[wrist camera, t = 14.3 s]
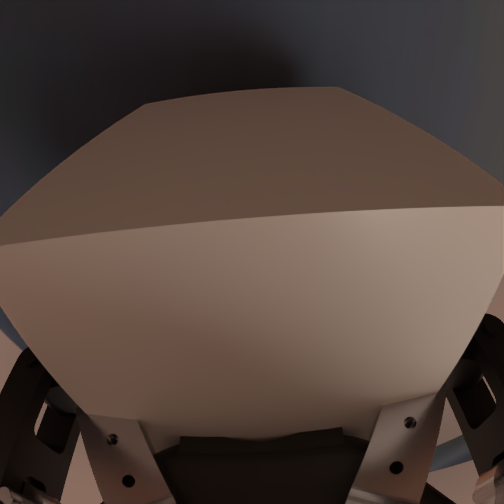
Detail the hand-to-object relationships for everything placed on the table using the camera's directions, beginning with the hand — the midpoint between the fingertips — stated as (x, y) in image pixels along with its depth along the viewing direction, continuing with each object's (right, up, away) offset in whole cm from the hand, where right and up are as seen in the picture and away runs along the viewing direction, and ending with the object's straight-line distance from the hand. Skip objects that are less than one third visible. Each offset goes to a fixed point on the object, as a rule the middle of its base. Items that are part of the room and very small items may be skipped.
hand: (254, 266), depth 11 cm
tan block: (0, +1, +2) cm, 2 cm away
